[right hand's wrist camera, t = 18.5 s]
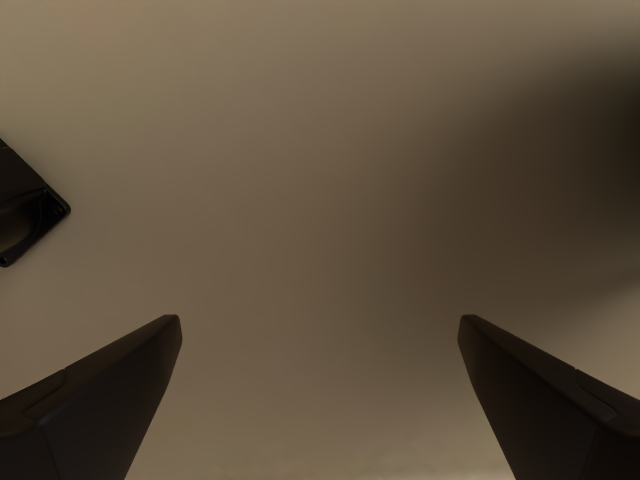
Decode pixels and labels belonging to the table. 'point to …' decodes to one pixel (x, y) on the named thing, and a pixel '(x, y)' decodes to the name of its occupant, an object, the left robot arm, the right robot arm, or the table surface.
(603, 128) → the table surface
